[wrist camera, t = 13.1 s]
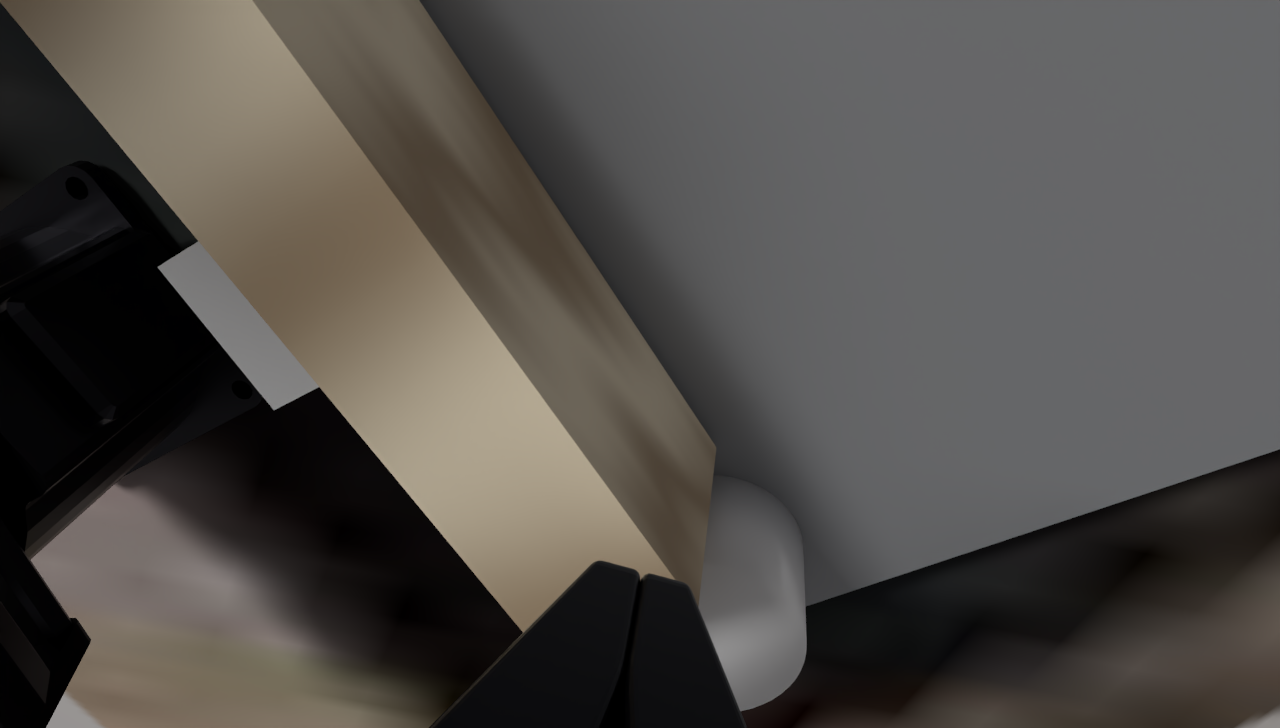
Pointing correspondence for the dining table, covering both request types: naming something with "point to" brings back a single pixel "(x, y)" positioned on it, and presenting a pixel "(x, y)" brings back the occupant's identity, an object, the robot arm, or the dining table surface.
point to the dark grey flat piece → (897, 261)
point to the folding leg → (406, 271)
